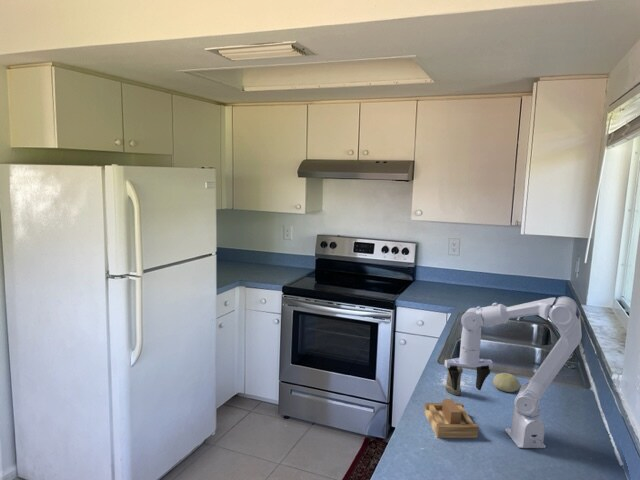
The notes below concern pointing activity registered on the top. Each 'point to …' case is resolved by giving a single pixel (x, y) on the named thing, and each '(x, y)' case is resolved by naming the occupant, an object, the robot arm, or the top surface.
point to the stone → (449, 383)
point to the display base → (450, 430)
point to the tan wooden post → (451, 411)
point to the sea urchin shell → (506, 382)
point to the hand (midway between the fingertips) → (466, 388)
